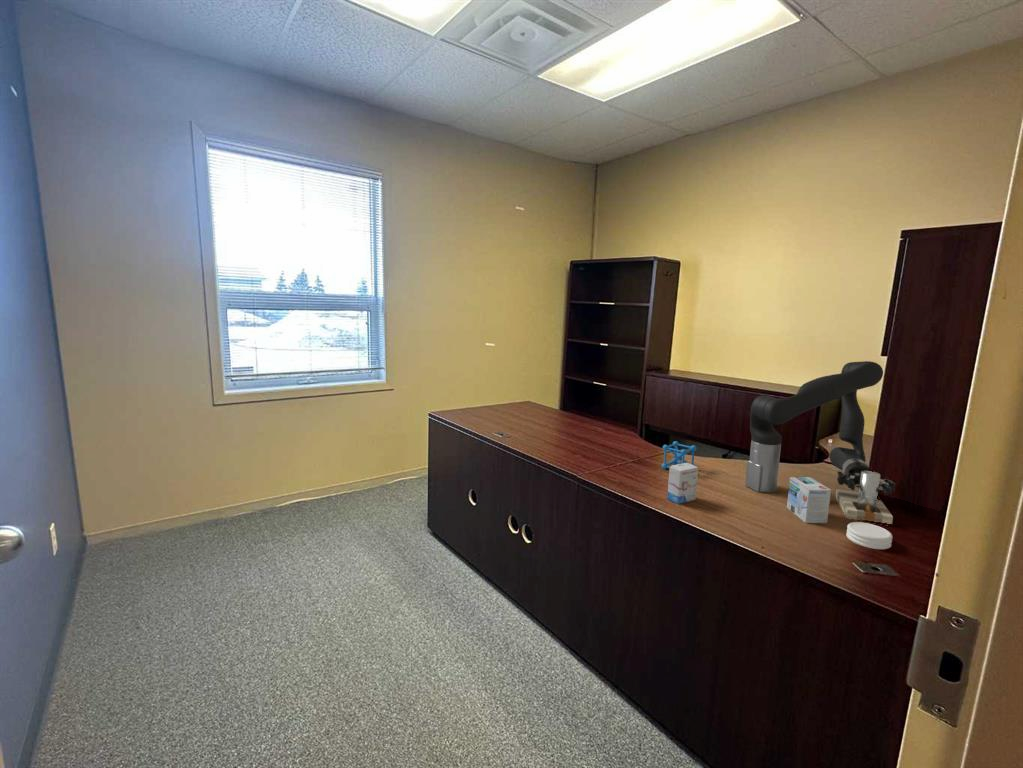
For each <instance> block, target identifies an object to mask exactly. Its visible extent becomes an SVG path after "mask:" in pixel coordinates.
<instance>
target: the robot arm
mask: <svg viewBox="0 0 1023 768" xmlns="http://www.w3.org/2000/svg"><path fill="white" fill-rule="evenodd" d="M883 377H884V370H883V367H882V366H881V365H880V364H879V363H877V362H875V361H870V360H868V361H866V360H865V361H864V360H863V361H850V362H847V363H845V364H844V366H843V367H842V368H841V373H834V374H829V375H824V376H821V377H817V378H815V379H812V380H809V381H807V382H805V383H803V384H802V385H801V386H800V387H799V389H798V390H797V392H796V394H794V395H792V396H788V397H785V398H777V397H773V396H768V395H759V396H757V397H755V398H754V400H753V401H752V404H751V406H750V415H749V432H750V434H751V442H750V451H749V453H750V454H749V460H747V462H746V470H745V471H746V472H745V485H744V486H745V487H747V488H748V489H751V490H753V491H756V492H758V493H761V492H762V493H775V492H777V487H778V477H779V470H780V469H779V468H780V458H781V457H780V456H781V447H782V440H783V439H782V435H781V434H780V433H779V432H778V430H776V429H775V428H774V426H779V425H783V424H785V423H788V422H789V421H791V420H792V419H794V418H796V417H797V416H800V415H802V414H803V413H806V412H807V411H810V410H812V409H815V408H818V407H820V406H823V405H825V404H827V403H828V404H829V403H830V402H833V401H834V400H837V399H840V398H841V418H840V425H839V433H838V437H839V440H841V441H843V442H846V443H849V444H850V445H851V446H852V448H847V447H843V446H842V447H841V446H839V447H836V446H835V447H834V448H833V449H831V450H830V453H829V460H830V463H831V464H832V465H833V466H834V467H835V468H837V469H839V470H841V471H837V475H836V480H837V484H838V485H840V486H843V485H845V486H846V487H848V488H849V489H850V491H855V490H856V488H859V486H860V479H861V471H870V470H869V467H870V465H869V464H867V462H866V455H865V449H864V442H863V437H864V436H863V435H864V430H865V417H864V413H863V411H862V408H861V406H860V404H859V401H858V396H857V394H858V393H857V392H858V390H862V389H866V388H871V387H873V386H875V385H877V384H878V383H880V381H881V380H882V379H883ZM855 487H856V488H855ZM895 487H896V483H895V482H894V481H893V480H892V479H891V480H889V479H885V478H884V479H881V478H880V481H879V488H878V491H882V492H883V493H884V494H885V495H887V496H889V495H890V494H892V492H895V490H896V488H895Z"/></svg>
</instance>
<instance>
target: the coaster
mask: <svg viewBox="0 0 1023 768" xmlns="http://www.w3.org/2000/svg"><path fill="white" fill-rule="evenodd" d="M846 527H847V529H846V534H845V535H846V537H847V539H848V540H849V541H850V542H852V543H854V544H856V545H858V546H862V547H864V548H868V549H873V550H887V549H890V548H891V547H892V542H893V534H892V533H891V532H890V531H889V530H887V529H885V528H884V527H881V526H879V525H877V524H876V525H875V524H874V523H870V522H863V521H856V522H855V521H854V522H850V523H848V524H847V526H846Z"/></svg>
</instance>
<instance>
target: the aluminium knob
mask: <svg viewBox="0 0 1023 768" xmlns="http://www.w3.org/2000/svg"><path fill="white" fill-rule="evenodd" d="M880 479H881V474H880V473H879V472H876V471H873V472H872V471H861V479H860V486H859V487H858V492H859V494H858V501H857V509H858V510H864V511H865V512H870V513H874V512H875V510H876V503H877V496H878V494H879V490H878V488H879V481H880ZM878 497H879V496H878Z"/></svg>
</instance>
